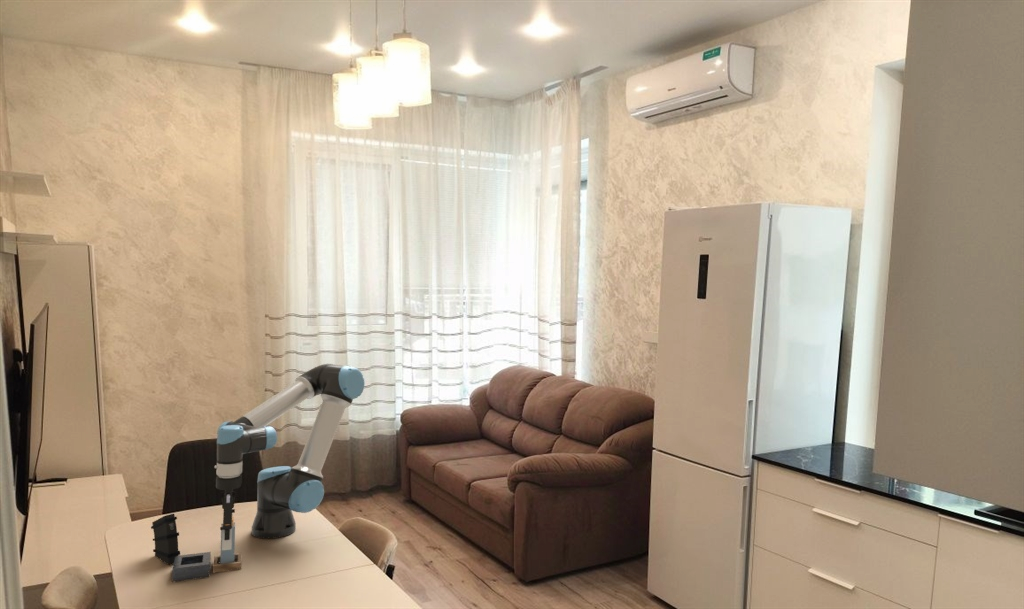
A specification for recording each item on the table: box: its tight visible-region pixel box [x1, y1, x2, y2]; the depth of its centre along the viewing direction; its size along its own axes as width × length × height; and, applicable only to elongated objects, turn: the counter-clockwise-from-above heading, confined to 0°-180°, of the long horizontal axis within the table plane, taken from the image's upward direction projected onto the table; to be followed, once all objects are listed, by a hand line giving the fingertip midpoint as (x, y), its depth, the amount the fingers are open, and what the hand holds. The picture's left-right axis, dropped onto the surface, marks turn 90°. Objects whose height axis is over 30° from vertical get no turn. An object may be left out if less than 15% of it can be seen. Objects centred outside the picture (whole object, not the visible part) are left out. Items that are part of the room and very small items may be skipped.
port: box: [171, 551, 212, 583], centre depth 198 cm, size 10×10×4 cm
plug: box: [219, 516, 236, 564], centre depth 203 cm, size 4×4×15 cm
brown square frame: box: [212, 552, 242, 573], centre depth 203 cm, size 8×8×2 cm
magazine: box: [150, 513, 181, 566], centre depth 207 cm, size 4×13×15 cm, turn 51°
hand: (227, 541), depth 203 cm, fingers open, 13 cm apart
